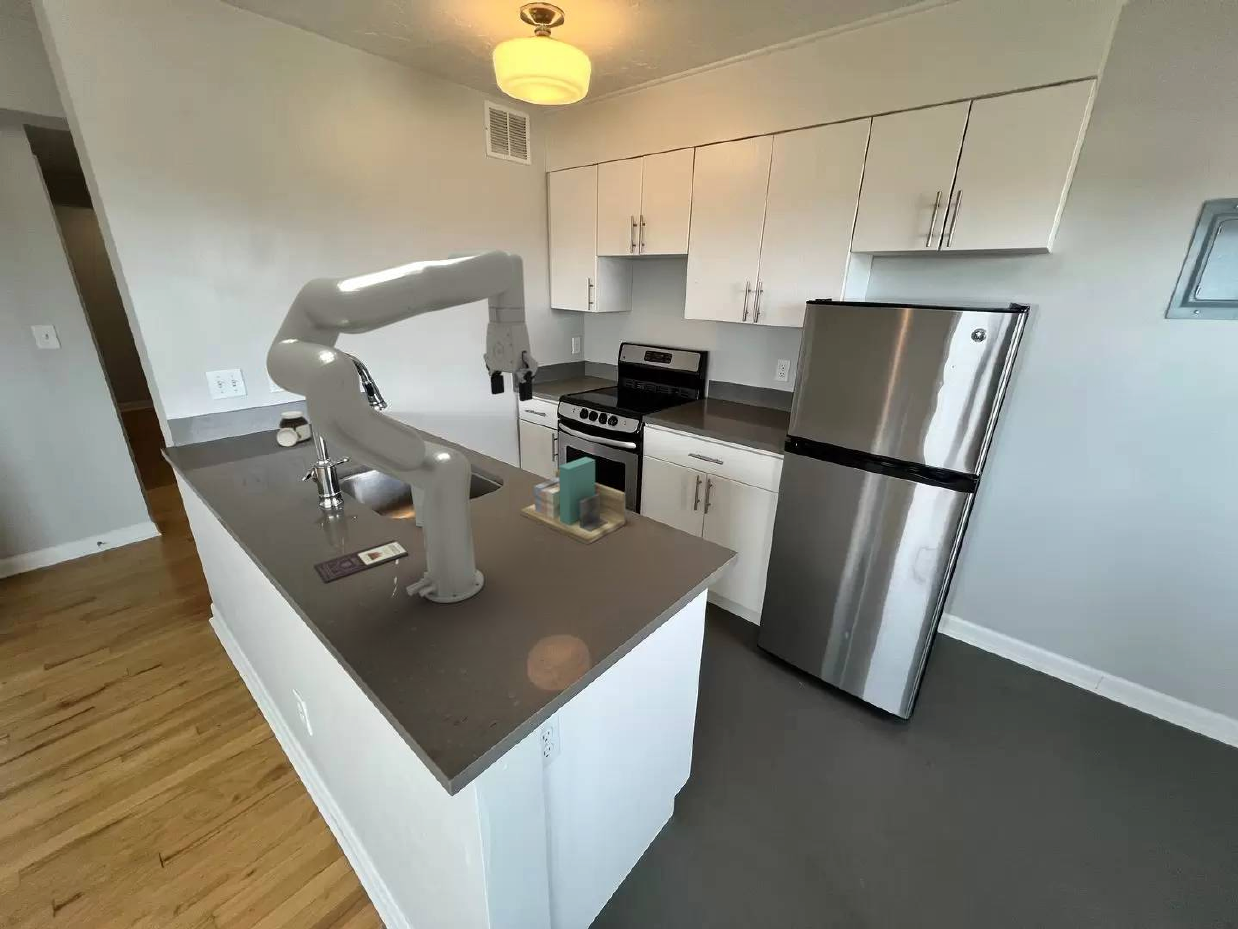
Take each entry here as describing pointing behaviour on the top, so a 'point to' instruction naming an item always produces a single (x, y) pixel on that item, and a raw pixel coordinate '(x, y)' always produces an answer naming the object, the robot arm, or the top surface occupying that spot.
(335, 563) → the chocolate bar
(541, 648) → the top surface
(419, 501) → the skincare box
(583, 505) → the shelf
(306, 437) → the spread jar
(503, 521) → the top surface
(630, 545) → the top surface
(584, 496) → the book
